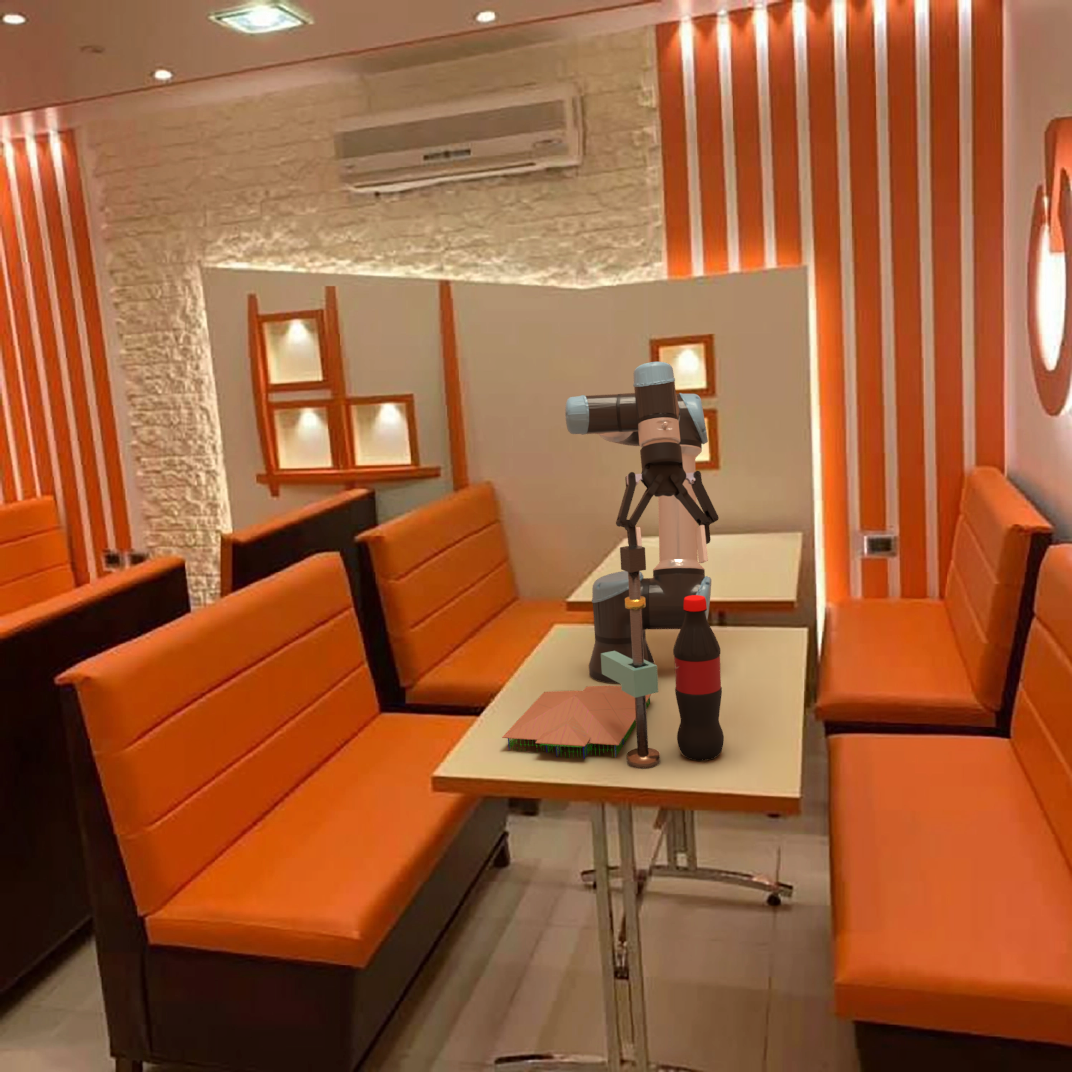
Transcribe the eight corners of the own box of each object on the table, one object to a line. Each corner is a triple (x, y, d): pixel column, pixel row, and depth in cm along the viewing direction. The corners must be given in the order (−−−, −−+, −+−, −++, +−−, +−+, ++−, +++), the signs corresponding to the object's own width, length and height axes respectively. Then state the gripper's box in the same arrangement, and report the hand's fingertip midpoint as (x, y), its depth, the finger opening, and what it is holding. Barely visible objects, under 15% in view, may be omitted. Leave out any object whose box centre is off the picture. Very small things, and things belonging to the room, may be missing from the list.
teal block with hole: (597, 677, 197) (596, 651, 196) (619, 672, 199) (618, 647, 198) (635, 697, 185) (633, 670, 184) (658, 692, 187) (656, 665, 186)
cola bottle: (719, 743, 196) (713, 589, 191) (728, 761, 188) (723, 600, 183) (674, 747, 196) (667, 592, 191) (682, 765, 188) (675, 604, 182)
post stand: (621, 759, 192) (609, 547, 185) (648, 752, 195) (638, 542, 187) (637, 771, 187) (626, 552, 179) (666, 763, 189) (656, 547, 182)
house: (498, 759, 198) (494, 718, 196) (551, 699, 228) (549, 663, 227) (615, 767, 190) (613, 725, 189) (654, 704, 221) (653, 667, 219)
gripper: (602, 441, 186) (613, 562, 182) (728, 439, 190) (741, 557, 186) (592, 452, 193) (602, 569, 189) (714, 450, 198) (726, 564, 193)
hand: (671, 563), depth 187 cm, fingers open, 11 cm apart
